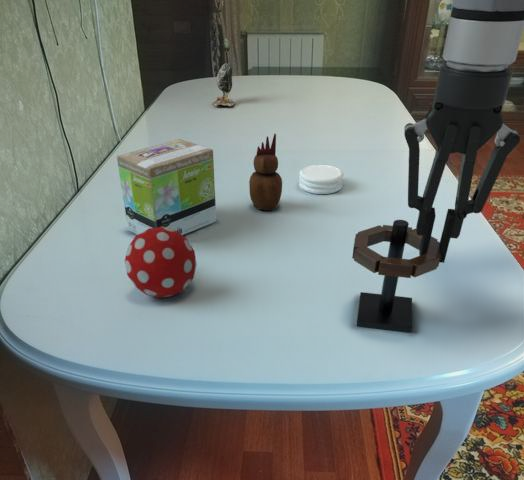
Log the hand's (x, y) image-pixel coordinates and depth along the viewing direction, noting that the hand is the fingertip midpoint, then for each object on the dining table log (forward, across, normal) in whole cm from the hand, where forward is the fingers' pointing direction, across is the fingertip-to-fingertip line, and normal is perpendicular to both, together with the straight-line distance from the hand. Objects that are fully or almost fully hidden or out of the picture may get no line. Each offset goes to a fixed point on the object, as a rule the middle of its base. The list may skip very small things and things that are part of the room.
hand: (431, 256), depth 70 cm
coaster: (+11, +21, -49) cm, 54 cm away
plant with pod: (+11, +63, -117) cm, 133 cm away
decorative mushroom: (+11, +41, -2) cm, 42 cm away
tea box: (+11, +47, -22) cm, 53 cm away
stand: (+10, +5, 0) cm, 12 cm away
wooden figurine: (+11, +31, -35) cm, 48 cm away
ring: (0, +5, 0) cm, 5 cm away
